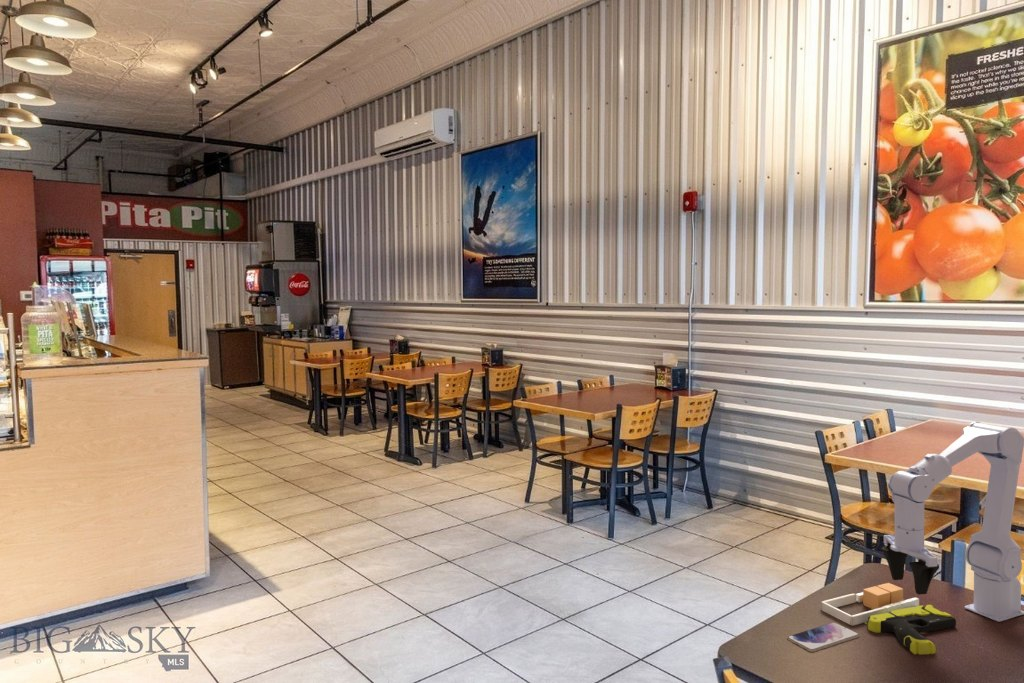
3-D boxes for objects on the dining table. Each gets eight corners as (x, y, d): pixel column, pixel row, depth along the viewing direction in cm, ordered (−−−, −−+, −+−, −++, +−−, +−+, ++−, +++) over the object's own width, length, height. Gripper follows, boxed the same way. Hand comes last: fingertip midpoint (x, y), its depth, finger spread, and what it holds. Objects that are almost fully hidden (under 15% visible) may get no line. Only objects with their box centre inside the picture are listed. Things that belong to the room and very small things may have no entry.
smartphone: (785, 636, 149) (833, 621, 155) (785, 640, 149) (833, 625, 155) (811, 650, 143) (861, 634, 149) (811, 654, 143) (861, 638, 149)
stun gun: (988, 632, 144) (928, 602, 159) (915, 646, 139) (860, 614, 154) (988, 645, 145) (928, 614, 159) (915, 660, 140) (860, 626, 154)
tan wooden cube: (875, 602, 165) (875, 586, 165) (889, 608, 162) (890, 592, 161) (863, 605, 164) (863, 589, 164) (877, 612, 160) (877, 595, 160)
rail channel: (887, 592, 170) (887, 585, 170) (919, 606, 162) (919, 598, 162) (855, 601, 166) (855, 594, 166) (886, 615, 158) (886, 608, 158)
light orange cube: (888, 598, 167) (888, 582, 167) (903, 605, 163) (903, 588, 163) (876, 601, 166) (876, 585, 165) (891, 608, 162) (891, 592, 162)
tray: (853, 601, 166) (853, 593, 166) (885, 616, 158) (885, 607, 158) (820, 609, 162) (820, 601, 162) (852, 625, 154) (852, 617, 154)
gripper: (871, 517, 157) (871, 574, 158) (915, 538, 143) (915, 601, 144) (899, 515, 158) (899, 572, 159) (946, 536, 144) (946, 599, 144)
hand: (909, 586), depth 151 cm, fingers open, 7 cm apart
